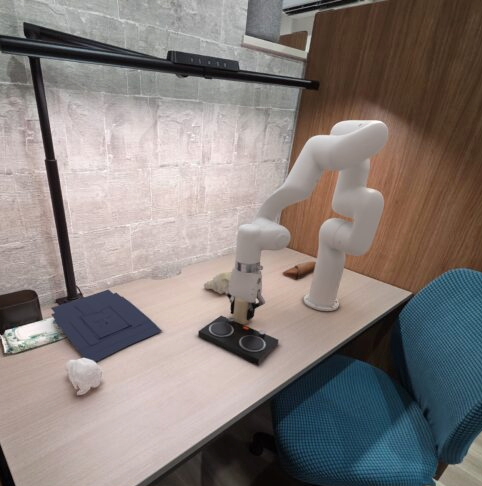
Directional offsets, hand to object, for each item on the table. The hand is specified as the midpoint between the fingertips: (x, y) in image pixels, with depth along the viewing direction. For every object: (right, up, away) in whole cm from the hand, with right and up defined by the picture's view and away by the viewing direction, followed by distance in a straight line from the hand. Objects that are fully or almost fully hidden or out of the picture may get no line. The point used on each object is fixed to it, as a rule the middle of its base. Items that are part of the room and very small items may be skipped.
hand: (241, 315), depth 105 cm
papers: (-45, -4, -5) cm, 45 cm away
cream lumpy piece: (-4, +9, +22) cm, 24 cm away
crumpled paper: (-43, -16, -27) cm, 53 cm away
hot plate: (-3, -8, -10) cm, 12 cm away
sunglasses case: (+32, +17, +39) cm, 53 cm away
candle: (0, -2, +1) cm, 2 cm away
